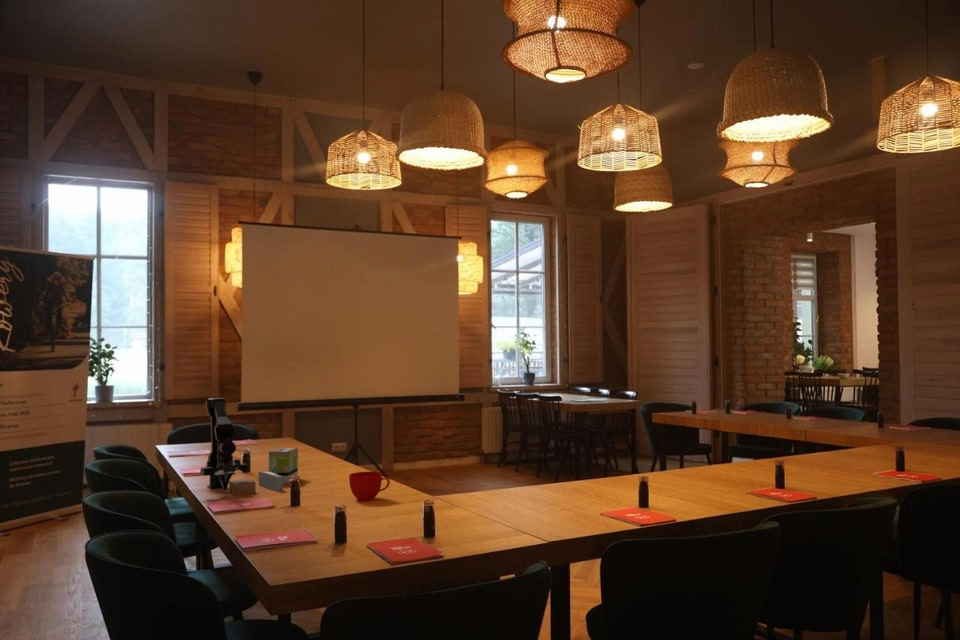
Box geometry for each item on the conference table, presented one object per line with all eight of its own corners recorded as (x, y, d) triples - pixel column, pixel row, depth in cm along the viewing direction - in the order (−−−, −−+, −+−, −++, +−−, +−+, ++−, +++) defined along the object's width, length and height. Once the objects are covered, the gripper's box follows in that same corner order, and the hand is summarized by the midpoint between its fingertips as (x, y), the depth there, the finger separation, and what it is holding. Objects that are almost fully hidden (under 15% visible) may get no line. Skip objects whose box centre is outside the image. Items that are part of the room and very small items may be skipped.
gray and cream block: (258, 484, 344) (258, 470, 345) (264, 484, 346) (264, 470, 346) (277, 491, 327) (277, 476, 327) (283, 490, 328) (283, 475, 329)
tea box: (289, 483, 346) (289, 451, 347) (267, 484, 346) (267, 451, 347) (298, 478, 361) (298, 446, 362) (277, 478, 361) (277, 447, 362)
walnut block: (229, 492, 327) (228, 481, 328) (250, 490, 332) (250, 478, 332) (233, 495, 320) (233, 483, 320) (255, 493, 324) (255, 481, 324)
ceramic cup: (382, 503, 294) (381, 477, 295) (343, 501, 300) (343, 476, 300) (396, 497, 306) (396, 472, 307) (359, 495, 312) (358, 471, 312)
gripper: (207, 456, 310) (208, 495, 309) (252, 452, 321) (253, 489, 321) (199, 454, 319) (200, 491, 318) (243, 450, 330) (244, 486, 330)
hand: (224, 489), depth 322 cm, fingers closed
